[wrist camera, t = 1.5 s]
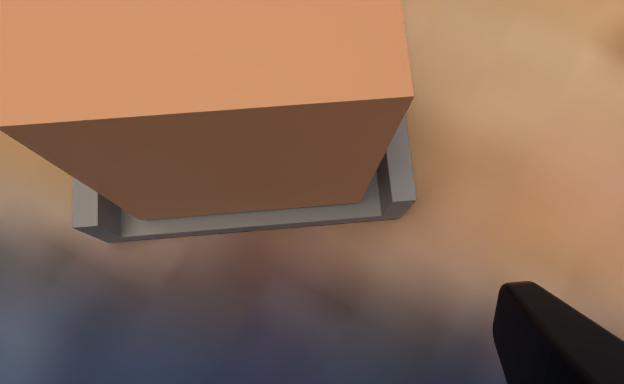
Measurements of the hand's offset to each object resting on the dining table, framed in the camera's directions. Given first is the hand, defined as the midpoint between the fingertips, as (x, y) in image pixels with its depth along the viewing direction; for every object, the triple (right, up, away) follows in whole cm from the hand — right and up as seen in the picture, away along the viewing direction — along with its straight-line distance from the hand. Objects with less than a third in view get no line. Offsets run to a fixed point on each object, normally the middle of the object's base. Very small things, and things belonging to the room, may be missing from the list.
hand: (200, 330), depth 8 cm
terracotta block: (-1, +3, +13) cm, 14 cm away
